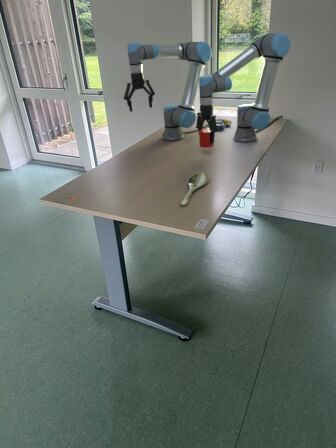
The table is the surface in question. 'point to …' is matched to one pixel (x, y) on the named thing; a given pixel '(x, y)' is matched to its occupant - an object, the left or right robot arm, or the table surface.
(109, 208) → the table surface
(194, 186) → the spoon
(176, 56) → the left robot arm
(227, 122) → the spray gun
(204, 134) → the canister
